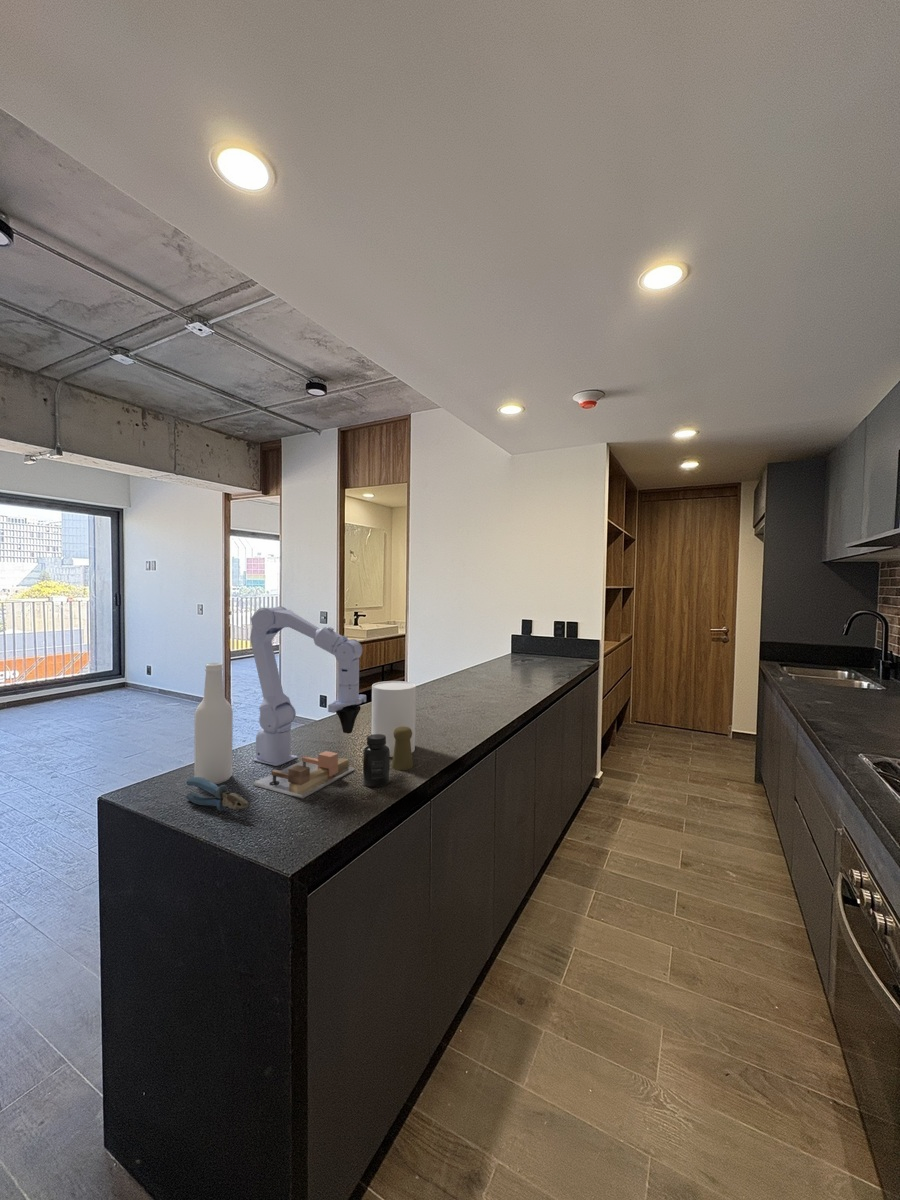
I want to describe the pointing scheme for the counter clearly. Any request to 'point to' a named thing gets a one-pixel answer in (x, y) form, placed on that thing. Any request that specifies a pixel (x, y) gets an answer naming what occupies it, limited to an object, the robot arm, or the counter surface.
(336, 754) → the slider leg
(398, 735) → the cork
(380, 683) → the canister
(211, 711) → the alcohol
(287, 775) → the bar
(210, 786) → the pliers
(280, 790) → the flange plate
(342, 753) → the counter surface
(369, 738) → the supplement bottle
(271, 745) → the robot arm
